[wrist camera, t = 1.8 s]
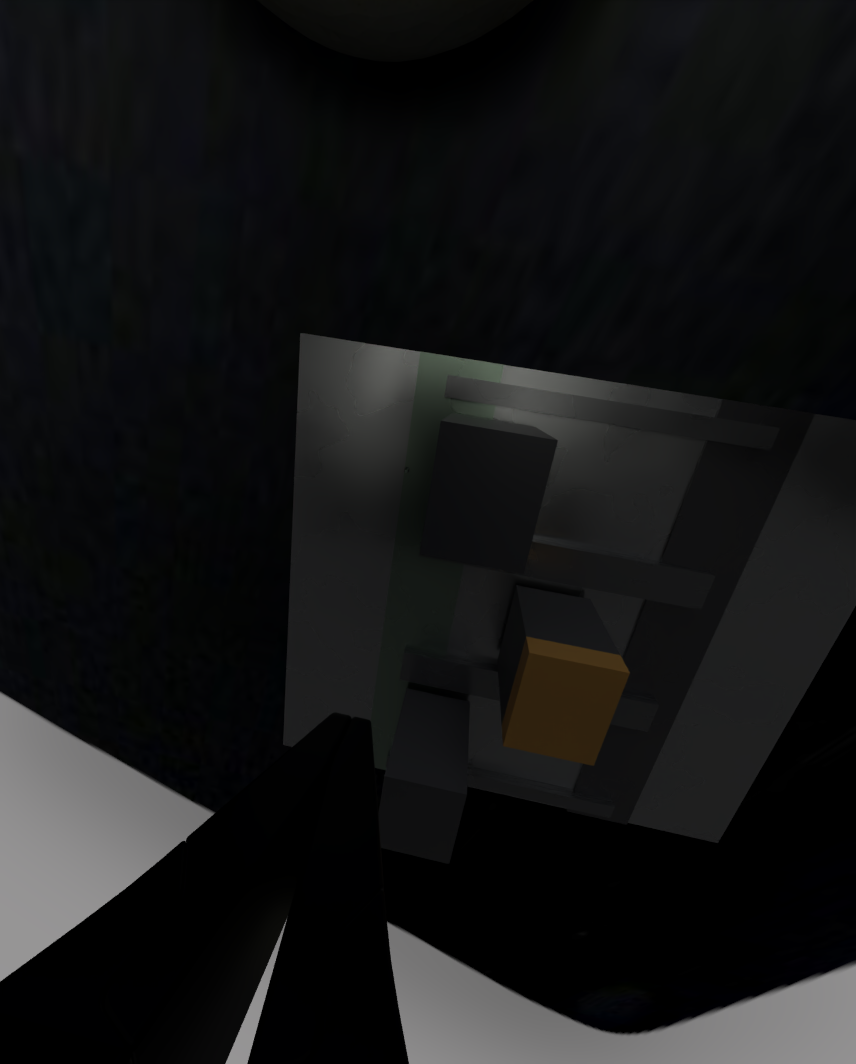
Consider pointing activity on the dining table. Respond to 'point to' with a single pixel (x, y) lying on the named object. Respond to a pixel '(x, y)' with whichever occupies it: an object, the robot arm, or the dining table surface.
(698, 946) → the dining table surface
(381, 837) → the handle
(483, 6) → the seashell
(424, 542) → the handle
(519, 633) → the handle
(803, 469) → the panel
